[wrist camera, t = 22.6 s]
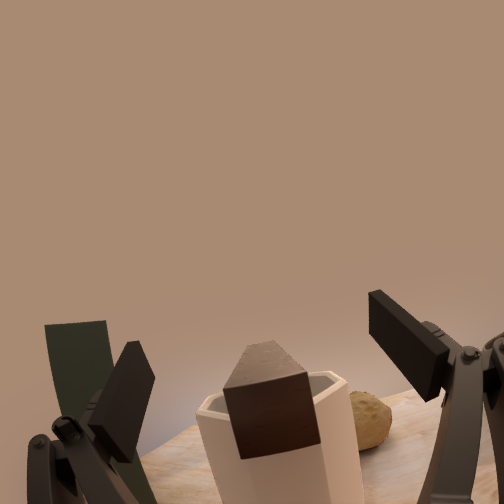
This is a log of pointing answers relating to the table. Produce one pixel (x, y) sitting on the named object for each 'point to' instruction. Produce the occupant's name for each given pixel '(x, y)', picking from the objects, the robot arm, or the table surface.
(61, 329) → the stand
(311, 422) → the rod
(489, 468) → the table surface
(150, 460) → the table surface
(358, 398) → the cut tuber
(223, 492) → the cup
